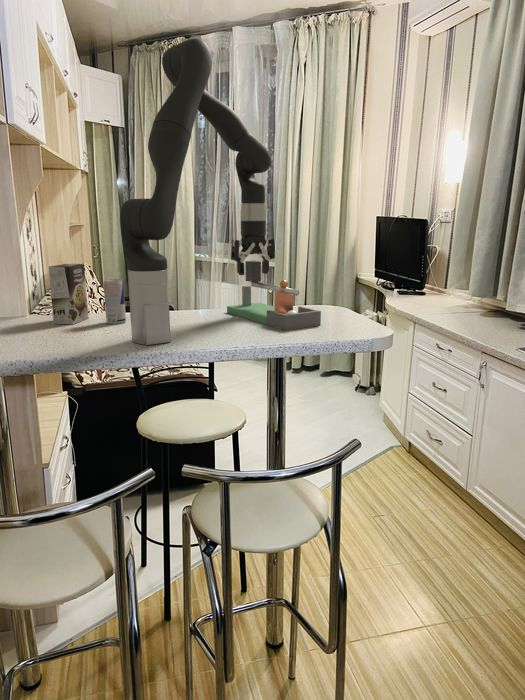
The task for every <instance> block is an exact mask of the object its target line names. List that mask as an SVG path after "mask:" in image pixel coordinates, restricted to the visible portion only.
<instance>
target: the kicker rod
mask: <svg viewBox="0 0 525 700" xmlns="http://www.w3.org/2000/svg"><path fill="white" fill-rule="evenodd" d="M244 270H245V281H246V282H250V286H251V287H255V288H259V289H264V290H267V291H268V290H269V291H274V307H275V312H279V313H283V314H287V312H289V311H291V310H294V296H299V294H300V290H299V289H296V288H289V282H288V280H285V279H282V280H281V281H280V283H279V285H276V284H270V283H264V282H262V261H259V260H244Z"/></svg>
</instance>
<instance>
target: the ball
mask: <svg viewBox="0 0 525 700" xmlns="http://www.w3.org/2000/svg"><path fill="white" fill-rule="evenodd" d="M295 313H298V311H296V310H294V309H293V310H291V311H289V312H287V314H295ZM287 314H286V315H287Z"/></svg>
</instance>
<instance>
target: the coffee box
mask: <svg viewBox="0 0 525 700" xmlns="http://www.w3.org/2000/svg"><path fill="white" fill-rule="evenodd" d="M48 276H49V287H50V298H51V308H52V309H51V310H52V321H53V324H54V325H56V324H59V325H61V324H62V325H75V323H76V324H78V323H80V321H81V322H83V321H86V320H88V319H89V307H88V306H89V305H88V304H89V303H88V294H87V284H86V283H87V282H86V271H85V263H63V264H57V265H51V266H50V265H49V266H48Z"/></svg>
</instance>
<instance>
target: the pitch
mask: <svg viewBox="0 0 525 700" xmlns="http://www.w3.org/2000/svg"><path fill="white" fill-rule="evenodd" d="M241 289H242V290H241V292H242V293H241V304H235V305H227V306H226V313H228V314H231V315H234V316H238V317H241V318H245V319H246V320H247V319H248V320H251V321H254V322H257V323H259V324H264V325H267V326H269V327H272V328H276V329H280V330H284V331H290V330H299V329H304V328H311V327H317V326H318V327H319V326H321V325H322V324H321V320H322V316H321V315H322V311H321V310H317V309H314V308H310V307H304V306H302V305H301V306H298V307H297V312H298V313H295V314H287V315H286V314H283V313H279V312H275V305H270V304H265V303H262V302H253V303H252V286H251V285H250V286H249V285H242V287H241Z"/></svg>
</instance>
